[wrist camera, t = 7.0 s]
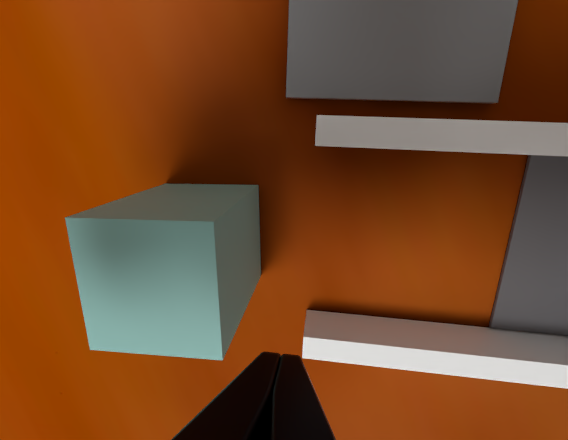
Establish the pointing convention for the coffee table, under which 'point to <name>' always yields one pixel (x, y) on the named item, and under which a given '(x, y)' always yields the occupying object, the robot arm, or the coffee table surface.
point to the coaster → (398, 49)
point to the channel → (514, 276)
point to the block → (168, 268)
